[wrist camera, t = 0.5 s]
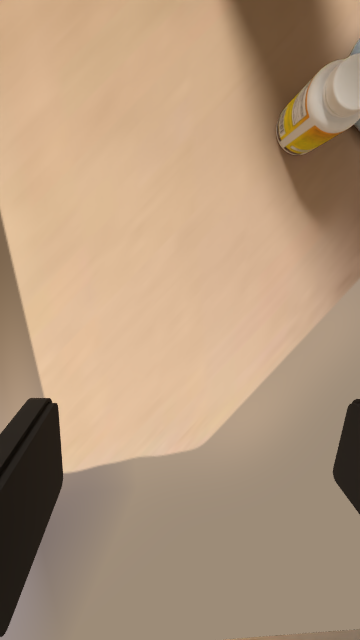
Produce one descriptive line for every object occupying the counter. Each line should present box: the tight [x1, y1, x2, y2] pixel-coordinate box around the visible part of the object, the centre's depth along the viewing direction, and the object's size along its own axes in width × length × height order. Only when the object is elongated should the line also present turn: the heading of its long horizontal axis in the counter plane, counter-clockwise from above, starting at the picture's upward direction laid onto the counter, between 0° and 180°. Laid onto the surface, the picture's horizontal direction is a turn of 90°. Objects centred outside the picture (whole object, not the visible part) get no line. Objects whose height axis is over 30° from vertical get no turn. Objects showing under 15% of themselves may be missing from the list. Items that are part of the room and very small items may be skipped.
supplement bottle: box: [276, 53, 360, 155], centre depth 28 cm, size 6×6×10 cm
